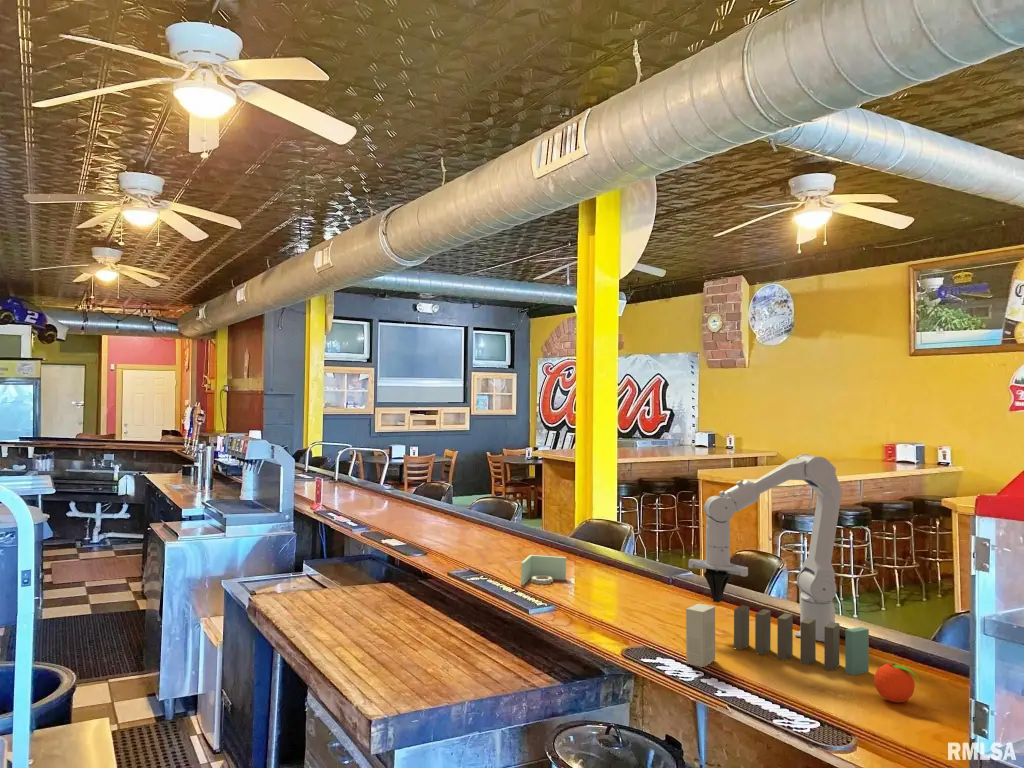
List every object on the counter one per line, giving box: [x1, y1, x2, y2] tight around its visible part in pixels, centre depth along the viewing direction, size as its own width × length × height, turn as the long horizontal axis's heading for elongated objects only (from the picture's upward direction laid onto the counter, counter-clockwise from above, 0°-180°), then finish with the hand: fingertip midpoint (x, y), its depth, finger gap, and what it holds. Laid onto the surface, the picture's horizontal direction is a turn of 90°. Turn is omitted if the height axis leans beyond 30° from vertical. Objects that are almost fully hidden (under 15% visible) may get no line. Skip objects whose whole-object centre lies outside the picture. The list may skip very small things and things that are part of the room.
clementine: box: [873, 662, 921, 703], centre depth 142 cm, size 8×7×7 cm
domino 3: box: [776, 612, 794, 661], centre depth 167 cm, size 2×5×9 cm, turn 142°
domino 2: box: [754, 608, 772, 656], centre depth 170 cm, size 2×5×9 cm, turn 142°
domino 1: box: [733, 605, 750, 651], centre depth 173 cm, size 2×5×9 cm, turn 142°
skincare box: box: [685, 603, 716, 668], centre depth 162 cm, size 6×4×12 cm
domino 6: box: [844, 626, 870, 676], centre depth 157 cm, size 2×5×9 cm, turn 115°
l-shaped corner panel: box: [520, 554, 567, 586], centre depth 234 cm, size 12×12×8 cm
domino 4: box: [799, 617, 817, 666], centre depth 164 cm, size 2×5×9 cm, turn 142°
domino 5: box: [823, 621, 840, 672], centre depth 160 cm, size 2×5×9 cm, turn 142°
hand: (717, 601), depth 182 cm, fingers closed
